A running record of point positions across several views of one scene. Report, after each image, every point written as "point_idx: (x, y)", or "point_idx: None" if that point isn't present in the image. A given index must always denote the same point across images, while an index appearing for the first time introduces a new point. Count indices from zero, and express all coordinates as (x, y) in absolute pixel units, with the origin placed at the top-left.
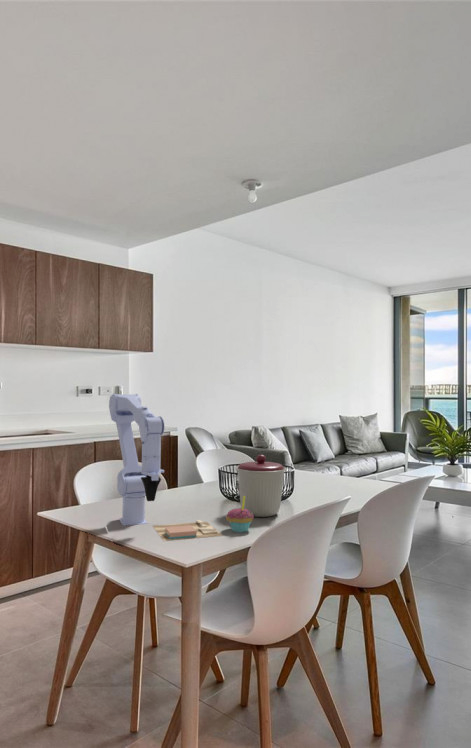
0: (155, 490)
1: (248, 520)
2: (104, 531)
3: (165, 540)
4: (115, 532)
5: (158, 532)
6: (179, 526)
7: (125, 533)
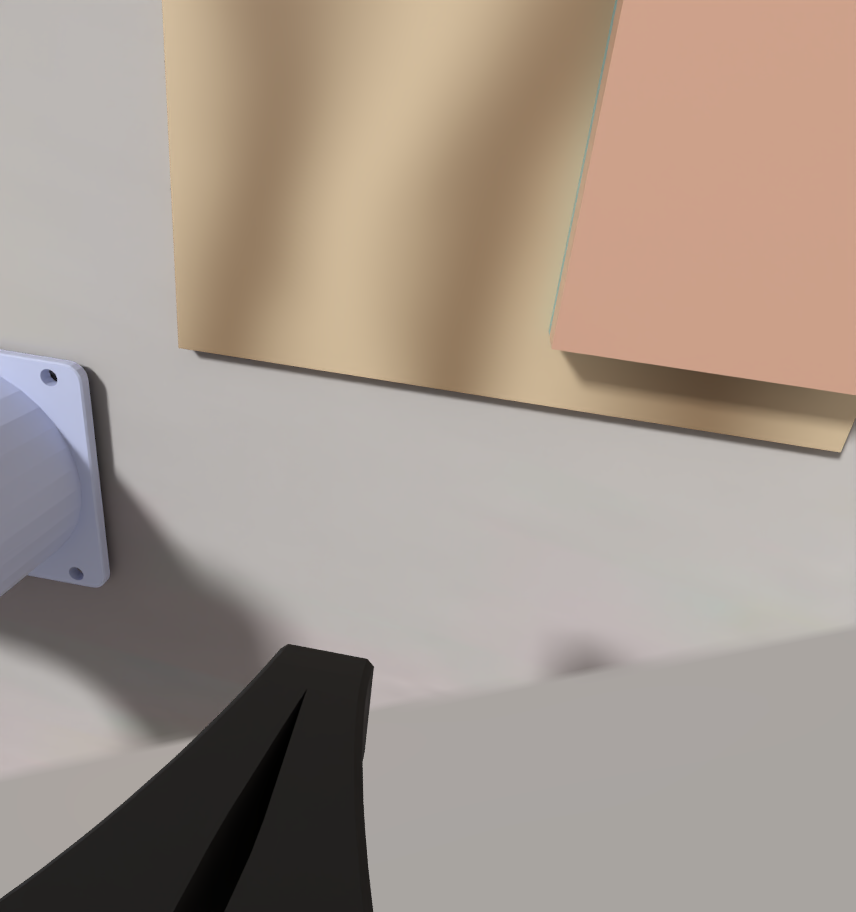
0: (363, 887)
1: None
2: None
3: (842, 432)
4: None
5: (489, 387)
6: (624, 144)
7: (336, 624)
